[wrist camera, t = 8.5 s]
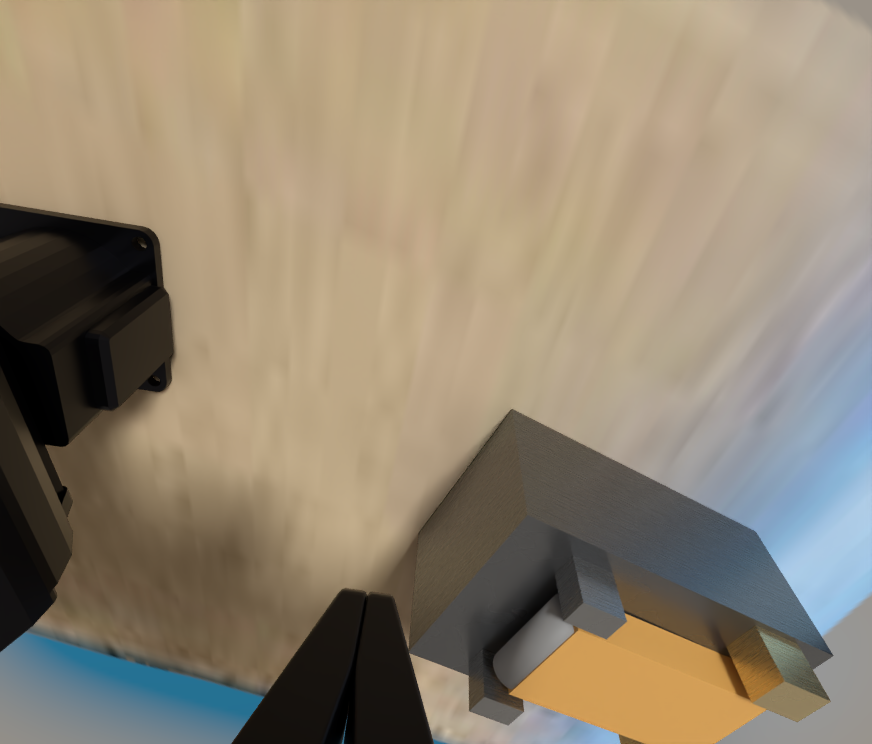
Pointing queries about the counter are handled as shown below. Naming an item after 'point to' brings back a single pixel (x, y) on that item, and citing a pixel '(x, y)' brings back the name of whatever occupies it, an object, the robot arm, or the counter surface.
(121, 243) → the robot arm
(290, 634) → the counter surface
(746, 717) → the tan rectangular box
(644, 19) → the counter surface
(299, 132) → the counter surface
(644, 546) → the grey block with pegs
